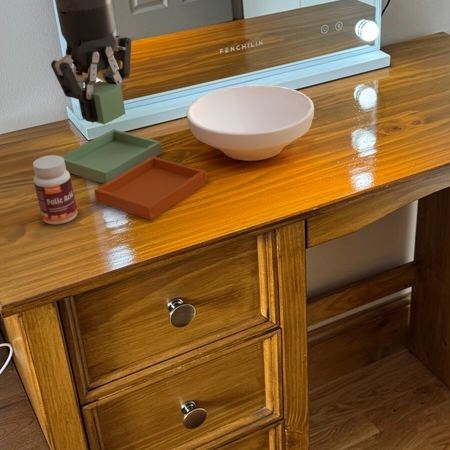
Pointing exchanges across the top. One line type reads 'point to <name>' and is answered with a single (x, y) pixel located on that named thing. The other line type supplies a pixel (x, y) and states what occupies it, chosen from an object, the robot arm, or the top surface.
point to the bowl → (250, 120)
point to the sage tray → (110, 155)
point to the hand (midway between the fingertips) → (103, 114)
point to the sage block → (108, 101)
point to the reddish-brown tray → (151, 187)
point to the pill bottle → (54, 190)
